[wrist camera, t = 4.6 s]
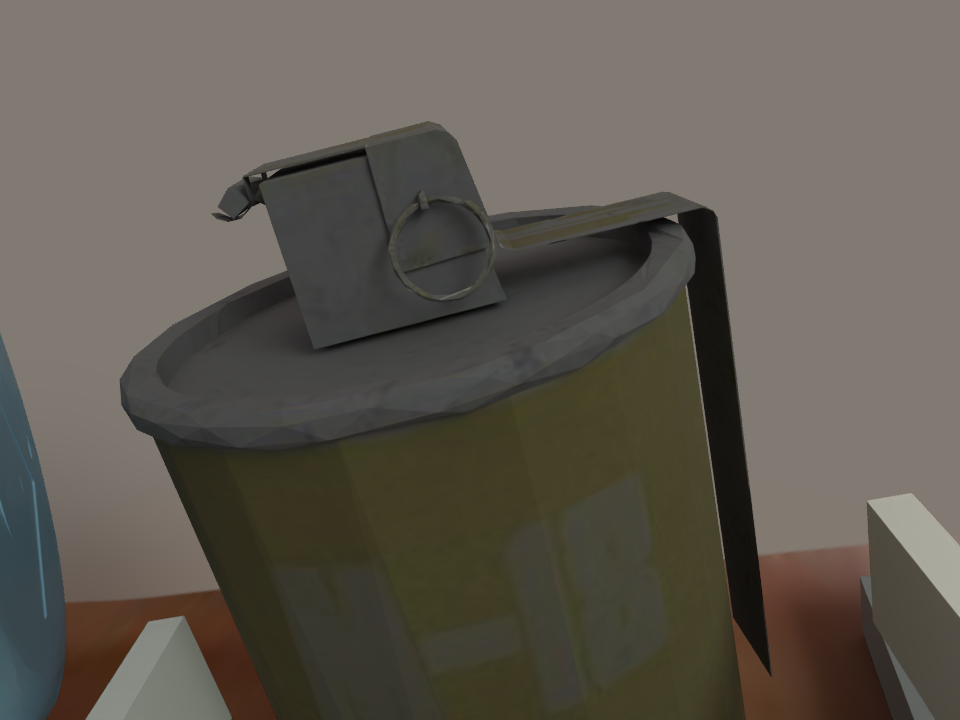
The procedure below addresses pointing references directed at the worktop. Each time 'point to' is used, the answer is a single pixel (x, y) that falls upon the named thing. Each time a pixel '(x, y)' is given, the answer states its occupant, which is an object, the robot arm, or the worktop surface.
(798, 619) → the worktop surface
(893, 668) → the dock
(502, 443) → the canister
